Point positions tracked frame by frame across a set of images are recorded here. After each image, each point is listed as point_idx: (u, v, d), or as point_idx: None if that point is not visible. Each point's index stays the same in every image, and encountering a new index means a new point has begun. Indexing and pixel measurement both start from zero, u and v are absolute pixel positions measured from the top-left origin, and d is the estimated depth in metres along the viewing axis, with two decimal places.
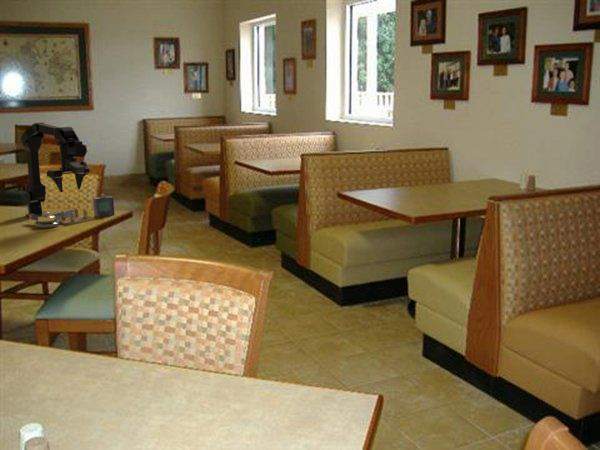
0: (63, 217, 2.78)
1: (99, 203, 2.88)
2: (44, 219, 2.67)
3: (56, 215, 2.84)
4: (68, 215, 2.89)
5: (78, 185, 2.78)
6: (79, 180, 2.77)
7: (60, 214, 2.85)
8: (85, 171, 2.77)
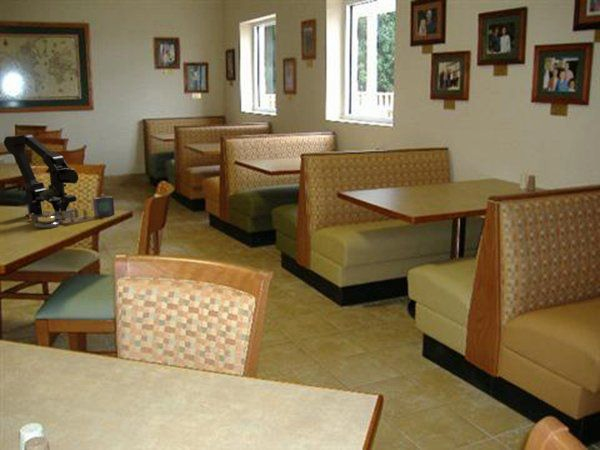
0: (63, 217, 2.78)
1: (99, 203, 2.88)
2: (44, 219, 2.67)
3: (56, 215, 2.84)
4: (68, 215, 2.89)
5: None
6: None
7: (60, 214, 2.85)
8: (61, 200, 2.80)
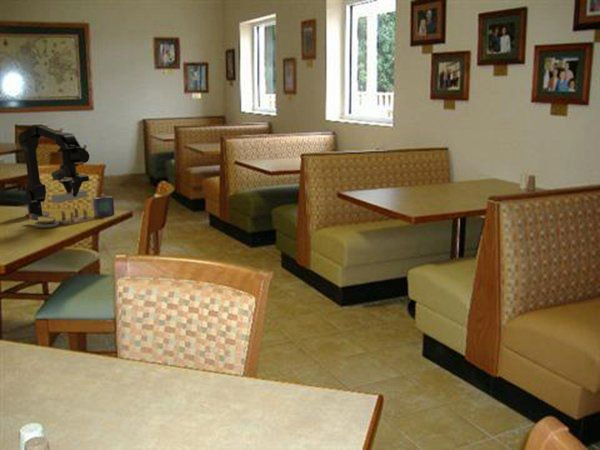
0: (63, 217, 2.78)
1: (99, 203, 2.88)
2: (44, 219, 2.67)
3: (68, 195, 2.74)
4: (81, 196, 2.80)
5: None
6: None
7: (72, 195, 2.76)
8: (74, 180, 2.70)
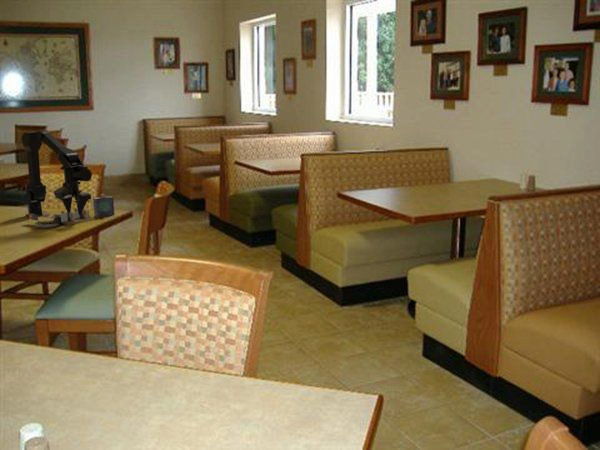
0: None
1: (99, 203, 2.88)
2: (44, 219, 2.67)
3: None
4: (83, 216, 2.82)
5: None
6: None
7: (75, 214, 2.78)
8: (76, 198, 2.72)
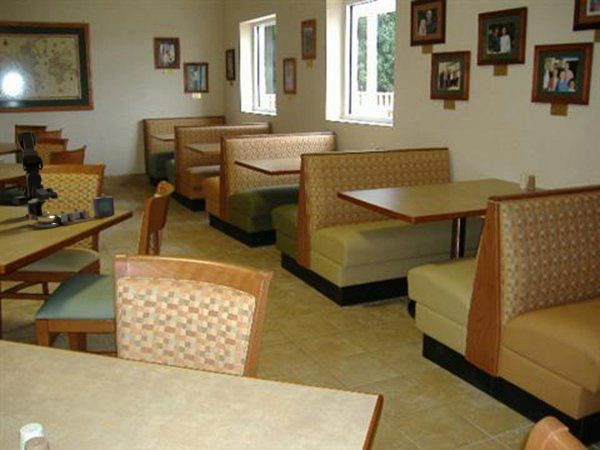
0: None
1: (99, 203, 2.88)
2: (44, 219, 2.67)
3: None
4: (83, 216, 2.82)
5: None
6: None
7: (75, 214, 2.78)
8: (53, 197, 2.78)
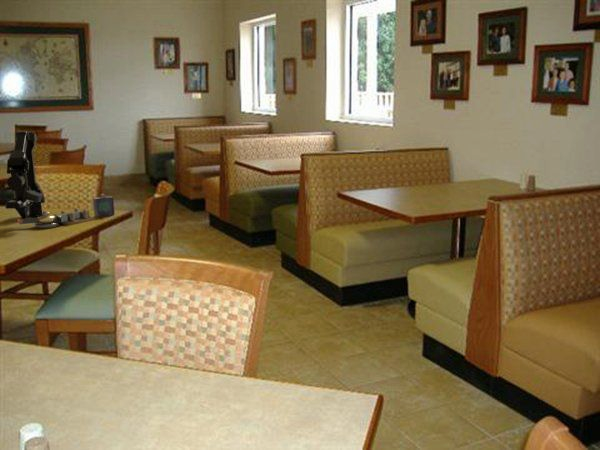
0: None
1: (99, 203, 2.88)
2: (51, 218, 2.68)
3: None
4: (83, 216, 2.82)
5: None
6: None
7: (75, 214, 2.78)
8: None
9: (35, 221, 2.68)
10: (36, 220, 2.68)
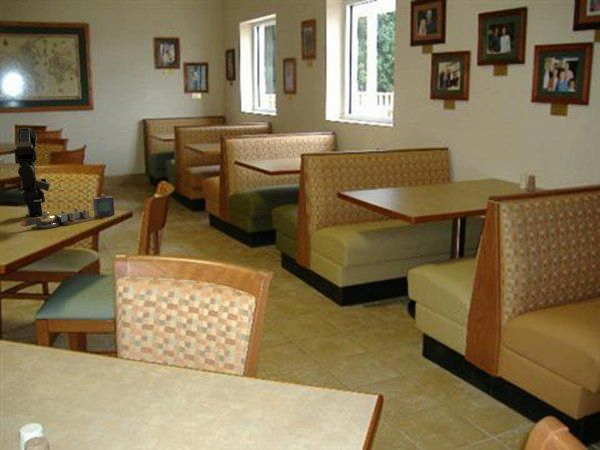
0: None
1: (99, 203, 2.88)
2: (54, 217, 2.70)
3: None
4: (83, 216, 2.82)
5: None
6: None
7: (75, 214, 2.78)
8: None
9: (38, 222, 2.66)
10: (38, 221, 2.67)
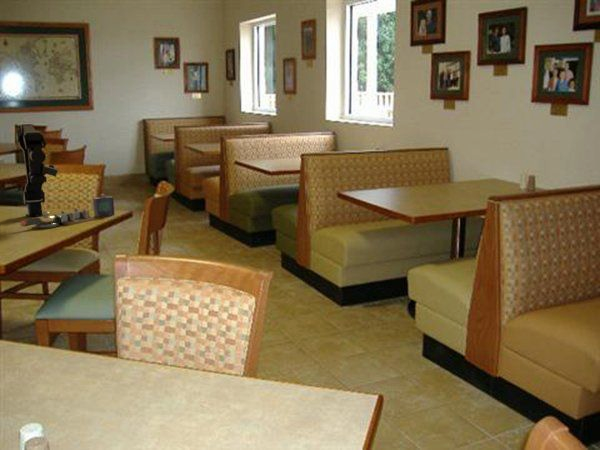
0: None
1: (99, 203, 2.88)
2: (54, 217, 2.70)
3: None
4: (83, 216, 2.82)
5: None
6: None
7: (75, 214, 2.78)
8: None
9: (38, 222, 2.66)
10: (38, 221, 2.67)
